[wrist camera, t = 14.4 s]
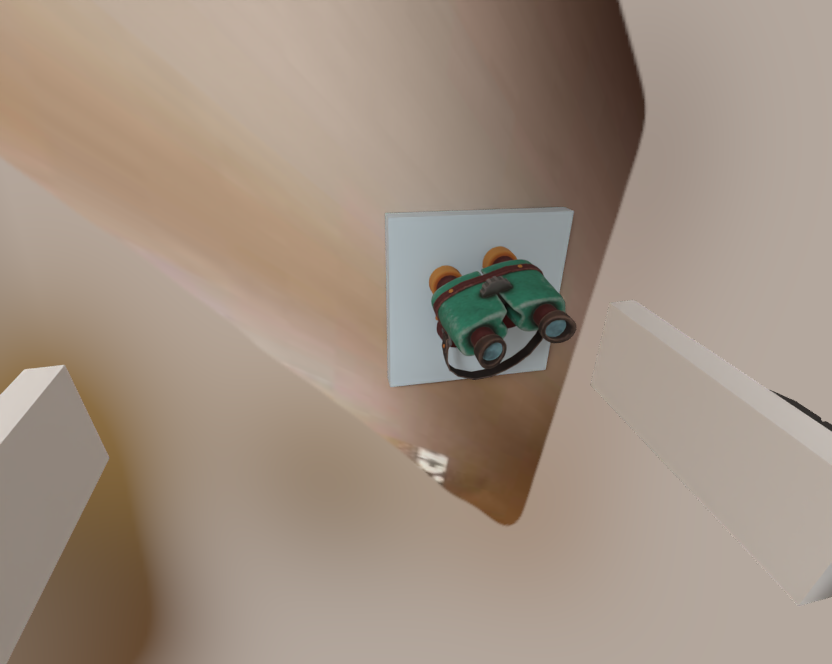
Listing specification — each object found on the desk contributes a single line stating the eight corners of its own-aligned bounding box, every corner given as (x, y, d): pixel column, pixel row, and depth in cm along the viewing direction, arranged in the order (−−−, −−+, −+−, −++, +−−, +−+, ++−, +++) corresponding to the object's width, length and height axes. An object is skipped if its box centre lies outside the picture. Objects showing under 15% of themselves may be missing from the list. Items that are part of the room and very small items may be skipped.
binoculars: (481, 445, 32) (453, 339, 26) (439, 358, 40) (411, 263, 34) (596, 402, 32) (595, 287, 26) (531, 325, 41) (519, 225, 35)
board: (385, 213, 34) (388, 217, 33) (564, 206, 37) (573, 211, 36) (387, 377, 41) (390, 387, 40) (538, 361, 44) (545, 369, 43)
